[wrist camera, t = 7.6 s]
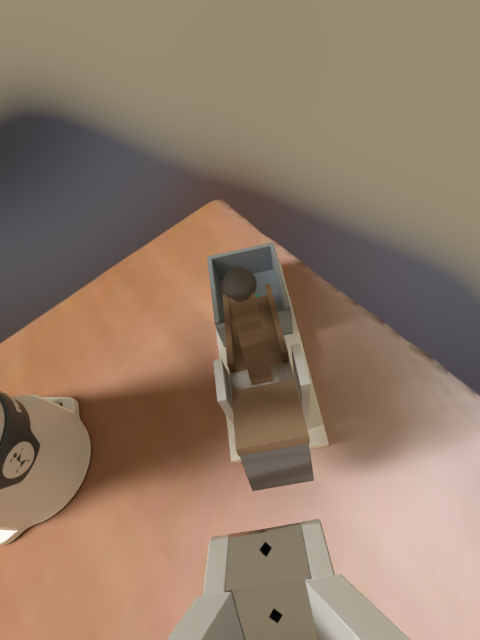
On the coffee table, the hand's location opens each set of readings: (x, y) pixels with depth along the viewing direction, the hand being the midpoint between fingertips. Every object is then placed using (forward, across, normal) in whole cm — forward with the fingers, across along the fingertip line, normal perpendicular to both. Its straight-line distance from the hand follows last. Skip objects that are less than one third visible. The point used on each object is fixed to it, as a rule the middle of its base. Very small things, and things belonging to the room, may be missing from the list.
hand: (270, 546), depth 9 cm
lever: (+28, 0, +9) cm, 30 cm away
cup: (+45, 0, +2) cm, 45 cm away
